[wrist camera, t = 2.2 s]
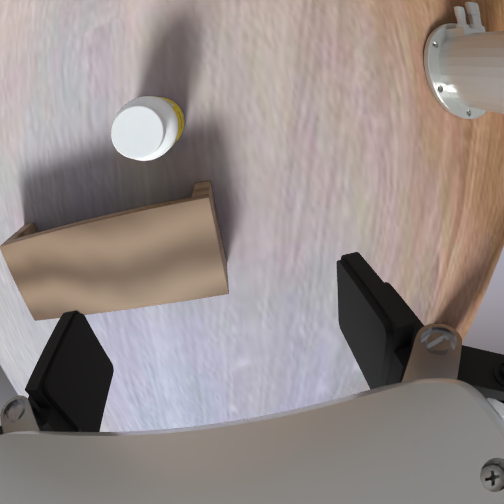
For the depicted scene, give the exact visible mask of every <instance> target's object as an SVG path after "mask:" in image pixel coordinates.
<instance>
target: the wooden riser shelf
mask: <svg viewBox="0 0 504 504" xmlns="http://www.w3.org/2000/svg"><path fill="white" fill-rule="evenodd" d="M0 249H1V251H2V254H3V256H4V259H5V261H6V263H7V265H8V268H9V270H10V272H11V274H12V277H13V279H14V281H15V283H16V285H17V287H18V289H19V291H20V293H21V295H22V297H23V299H24V301H25V303H26V305H27V307H28V309H29V311H30V313H31V314H32V316H33V318H34V320H35V321H36V320H45V319H54V318H61V316H62V314H63V313H64V312H69V311H75V310H77V311H79V312H80V313H82V314H84V315H87V314H95V313H103V312H111V311H118V310H126V309H133V308H140V307H147V306H154V305H161V304H167V303H174V302H181V301H187V300H194V299H200V298H206V297H212V296H219V295H225V294H229V289H228V274H227V263H226V258H225V253H224V248H223V243H222V238H221V233H220V228H219V223H218V218H217V213H216V208H215V202H214V197H213V192H212V187H211V181H205V182H200V183H195V186H194V190H193V194H192V197H189V198H183V199H178V200H173V201H168V202H163V203H158V204H154V205H149V206H144V207H140V208H135V209H131V210H126V211H122V212H117V213H113V214H109V215H104V216H100V217H96V218H92V219H88V220H84V221H80V222H76V223H72V224H68V225H64V226H60V227H56V228H52V229H49V230H45V231H41V232H38V233H37V231H36V229H35V226H34V223H30V224H27V225H24V226H23V227H22V228H20V229H19V230H18V231H17V232H16V233H15V234H13V235H12V236H11V237H10V238H9V239H8V240H7V241H5V242H4V243H3V244H2V245H1V246H0Z"/></svg>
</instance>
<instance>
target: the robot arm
mask: <svg viewBox="0 0 504 504" xmlns="http://www.w3.org/2000/svg"><path fill="white" fill-rule="evenodd" d="M464 4H465V9H466V14H467V16H468V20H469V25H467V23H466V15H465V10H464V8H463V7H460V6H455V7H454V11H455V16H456V19H457V23H448V24H443V25H441V26H438V27H437V28H435V29H434V30H433V31H432V32H431V34H430V35H429V37H428V39H427V41H426V44H425V49H424V68H425V73H426V77H427V81H428V83H429V86H430V88H431V90H432V92H433V94H434V96H435V98H436V99H437V100H438V102H439V103H440V104H441V105H442V106H443V107H444V108H445V109H446V110H447V111H448V112H450V113H451V114H453V115H455V116H457V117H460V118H465V119H475V118H478V117H480V116H482V115H483V114H485V113H486V112H487V111H491V112H496V113H501V114H504V31H489V32H486V31H485V27H484V26H482V24H481V19H480V17H481V15H480V10H479V5H478V3H475V2H465V3H464ZM337 282H338V313H339V325H340V329H341V331H342V333H343V335H344V337H345V339H346V341H347V343H348V345H349V347H350V349H351V351H352V353H353V355H354V357H355V359H356V361H357V363H358V365H359V367H360V369H361V371H362V373H363V375H364V377H365V379H366V381H367V383H368V385H369V387H370V389H371V390H368V391H364V392H360V393H357V394H353V395H350V396H346V397H342V398H339V399H335V400H331V401H327V402H323V403H319V404H315V405H311V406H307V407H302V408H298V409H294V410H289V411H285V412H280V413H275V414H270V415H265V416H260V417H255V418H249V419H243V420H237V421H231V422H224V423H217V424H210V425H202V426H194V427H185V428H175V429H163V430H149V431H130V432H99V431H100V426H101V421H102V417H103V413H104V408H105V404H106V400H107V396H108V392H109V388H110V384H111V380H112V376H113V371H114V370H113V365H112V363H111V361H110V359H109V358H108V356H107V354H106V353H105V351H104V349H103V348H102V346H101V344H100V343H99V341H98V339H97V337H96V336H95V334H94V332H93V330H92V329H91V327H90V325H89V323H88V321H87V319H86V317H85V316H84V314H82V313H80V312H79V311H77V310H75V311H69V312H64V313H63V314H62V316H61V318H60V320H59V321H58V323H57V325H56V327H55V329H54V331H53V333H52V334H51V336H50V338H49V340H48V342H47V344H46V346H45V348H44V350H43V352H42V354H41V356H40V358H39V360H38V362H37V364H36V366H35V368H34V371H33V373H32V375H31V377H30V379H29V381H28V384H27V386H26V388H25V391H26V392H27V393H28V394H29V397H28V399H27V398H26V397H25V396H21V395H19V396H15V397H13V398H11V399H10V400H9V401H7V403H6V404H5V405H4V406H3V408H2V411H1V414H0V420H1V424H2V425H1V426H0V504H504V355H502V354H498V353H493V352H489V351H485V350H480V349H476V348H472V347H467V346H463V345H462V338H461V336H460V334H459V333H458V332H457V331H456V330H455V329H454V328H452V327H450V326H448V325H445V324H439V323H434V324H428V325H426V326H424V325H423V324H422V322H421V321H420V320H419V319H418V317H417V316H416V315H415V314H414V312H413V311H412V310H411V309H410V307H409V306H408V305H407V304H406V303H405V301H404V300H403V299H402V298H401V296H400V295H399V294H398V293H397V292H396V290H395V289H394V288H393V287H392V286H391V285H390V284H389V283H387V282H385V283H384V282H383V281H382V280H381V279H380V277H379V276H378V275H377V274H376V273H375V271H374V270H373V269H372V268H371V267H370V265H369V264H368V263H367V262H366V261H365V260H364V258H363V257H362V256H361V255H360V254H359V253H358V252H355V253H350V254H346V255H342V257H341V260H338V261H337Z"/></svg>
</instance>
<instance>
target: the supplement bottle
mask: <svg viewBox="0 0 504 504" xmlns="http://www.w3.org/2000/svg"><path fill="white" fill-rule="evenodd" d="M184 126H185V118H184V114H183V112H182V110H181V108H180V107H179V105H178V104H176V103H175V102H174V101H172V100H171V99H168V98H164V97H155V96H143V97H139V98H135V99H133V100H131V101H129V102H128V103H127V104H125V105H124V106H123V107H122V108H121V110H120V111H119V112H118V114H117V116H116V118H115V120H114V122H113V125H112V129H111V138H112V142H113V144H114V146H115V148H116V149H117V151H118V152H119V153H121V154H122V155H124V156H125V157H128V158H131V159H135V160H140V161H148V160H153V159H156V158H158V157H160V156H162V155H163V154H165V153H166V152H167V151H168V150H169V149H170V148H171V147H172V146H173V145H174V144H175V143H176V142H177V141H178V139H179V138H180V137H181V135H182V133H183V130H184Z"/></svg>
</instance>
